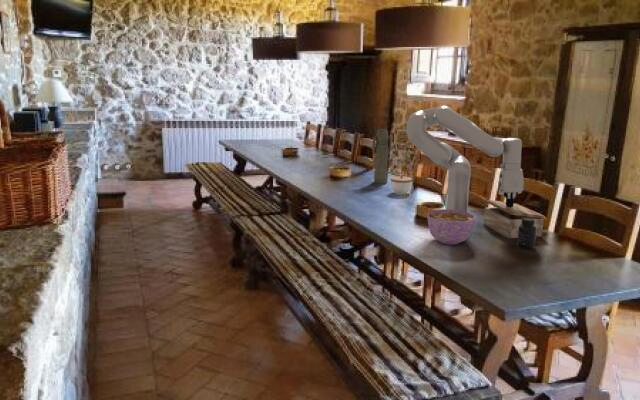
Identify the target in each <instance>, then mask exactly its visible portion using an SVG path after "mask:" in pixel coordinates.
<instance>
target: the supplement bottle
mask: <svg viewBox="0 0 640 400" xmlns="http://www.w3.org/2000/svg"><path fill="white" fill-rule="evenodd" d="M534 222H535V220H534V219H532V218H522V224H521V225H520V226H519V229H518V238H517V241H516V242H517V243H516V246H517V247H518V248H520V249H521V250H533V249H535V247H536V239H537V237H536V227H535V226H534V224H535V223H534Z"/></svg>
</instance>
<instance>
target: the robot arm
mask: <svg viewBox="0 0 640 400" xmlns="http://www.w3.org/2000/svg"><path fill="white" fill-rule="evenodd" d="M435 126H440V127H441V128H442V129H443V128H444V129H445V130H446V131H449V132H450V133H452V134H453V135H455V136H457V137H458V138H460V139H461V140H463V141H464V142H466V143H468V144H470V145H471V146H473V147H474V148H476V149H478V150H479V151H481V152H483V153H484V154H486V155H487V156H489V157H493V158H497V157H500V156H501V155H502V163H501V164H499V167H500V168H501V169H500V171H499V172H500V173H499V177H498V184H497V185H498V186H497V190H498V195H501V196H503V197H504V198H505V202H506V206H507V207H513V204H514V203H515V198H516V197H517V195H520V194H522V192H523V191H524V185H525V181H524V172H523V171H524V170H523V169H522V168H521V167H522V166H521V165H522V150H523V149H522V148H523V147H522V146H523V143H522V142H523V141H522V139H520V138H517V137H508V138H502V137H496V136H495V137H493V136H492V135H491V134H489V133H487V132H486V131H484V130H483V129H481V128H480V127H479V126H478V125H476V124H475V123H474V122H473V121H472V120H470V119H468V118H466V117H464V116H463V115H461V114H460V113H458V112H457V111H455V110H453V109H452V108H451V107H450V106H448V105H441V106H436V107H432V108H427V109H422V110H417V111H415V112H413V113H412V114H411V115H410V116H409V117H408V119H407V122H406V136H407V137H408V140H409V141H410V142H411V144H412V145H414V147H416V148H417V149H418V150H419V151H420V152H421V153H422V154H424V155H425V156H426V157H427V158H429V159H430V160H431V161H432V162H433V163H434V164H436V165H438V166H442V167H444V168H445V169H446V170H447V173H448V176H447V191H446V192H447V194H446V207H445V208H446V209H450V210H460V211H465V212H468V209H469V198H470V197H469V196H470V195H469V194H470V183H471V174H472V172H471V171H472V169H471V163H470V162H469V160H468V159H467V158H466V157H465V156H464V155H462V154H461V153H460V152H459V151H457V150H456V149H455V148H454V147H453V146H451V145H450V144H448V143H446V142H443V141H440V140H438V139H437V138H436V137H435V136H433V134H430V133H429V132H428V131H427V128H431V127H435Z"/></svg>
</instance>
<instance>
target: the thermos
mask: <svg viewBox="0 0 640 400" xmlns="http://www.w3.org/2000/svg"><path fill="white" fill-rule="evenodd" d="M375 135H376V136H374V137H373V139H372V153H374V158H375V164H374V172H373V179H374V180H373V183H374V184H375V185H376V184H377V185H386V184H388V179H389V178H388V177H389V176H388V175H389V171H388V158H389V154H390V152H391V151H392V150H391V148H392V147H391V145H392V138H391V137H390V136H389V132H388V129H386V128H378V129H377V130H376V134H375Z"/></svg>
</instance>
